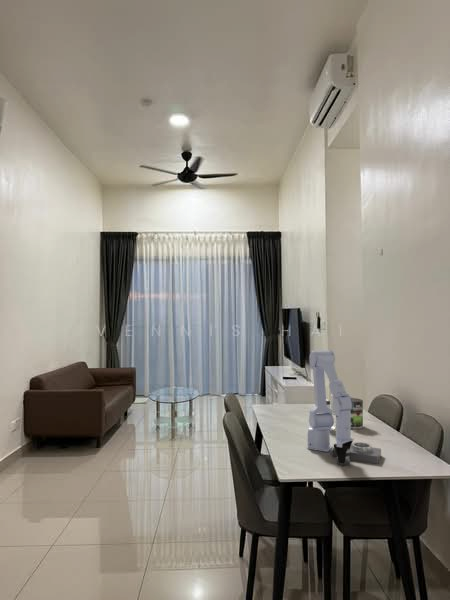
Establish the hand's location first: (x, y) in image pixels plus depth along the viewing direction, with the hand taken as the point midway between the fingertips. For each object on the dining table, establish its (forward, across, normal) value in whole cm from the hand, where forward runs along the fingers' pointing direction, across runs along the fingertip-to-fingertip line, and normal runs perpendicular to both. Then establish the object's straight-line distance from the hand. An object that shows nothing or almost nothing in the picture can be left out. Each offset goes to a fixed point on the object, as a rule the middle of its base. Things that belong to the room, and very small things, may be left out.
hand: (343, 460), depth 170 cm
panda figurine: (+2, +50, +21) cm, 54 cm away
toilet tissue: (+2, +90, +22) cm, 93 cm away
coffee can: (+2, +60, +8) cm, 61 cm away
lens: (+1, 0, 0) cm, 1 cm away
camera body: (+1, +12, -3) cm, 12 cm away
